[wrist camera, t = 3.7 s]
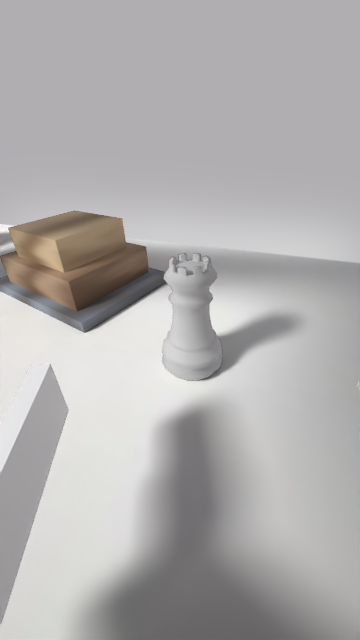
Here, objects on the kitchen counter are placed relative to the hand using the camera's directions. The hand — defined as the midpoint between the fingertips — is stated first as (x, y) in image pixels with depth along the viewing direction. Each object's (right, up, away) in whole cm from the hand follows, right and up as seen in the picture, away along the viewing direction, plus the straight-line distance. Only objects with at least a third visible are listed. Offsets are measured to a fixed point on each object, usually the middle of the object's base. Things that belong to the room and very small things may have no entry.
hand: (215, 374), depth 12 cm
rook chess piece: (-1, -1, +9) cm, 10 cm away
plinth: (-13, +6, +21) cm, 26 cm away
